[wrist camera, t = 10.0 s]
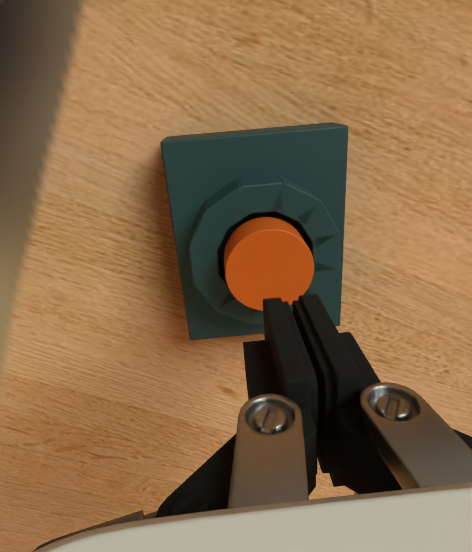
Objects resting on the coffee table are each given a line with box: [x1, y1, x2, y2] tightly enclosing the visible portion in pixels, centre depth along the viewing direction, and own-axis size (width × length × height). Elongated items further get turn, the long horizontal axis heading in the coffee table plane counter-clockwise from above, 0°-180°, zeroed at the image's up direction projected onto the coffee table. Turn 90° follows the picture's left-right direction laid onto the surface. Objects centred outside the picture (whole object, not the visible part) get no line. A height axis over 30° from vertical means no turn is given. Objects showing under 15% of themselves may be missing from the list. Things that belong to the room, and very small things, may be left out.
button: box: [224, 217, 314, 311], centre depth 16 cm, size 4×4×2 cm
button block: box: [160, 122, 348, 340], centre depth 19 cm, size 10×8×4 cm
